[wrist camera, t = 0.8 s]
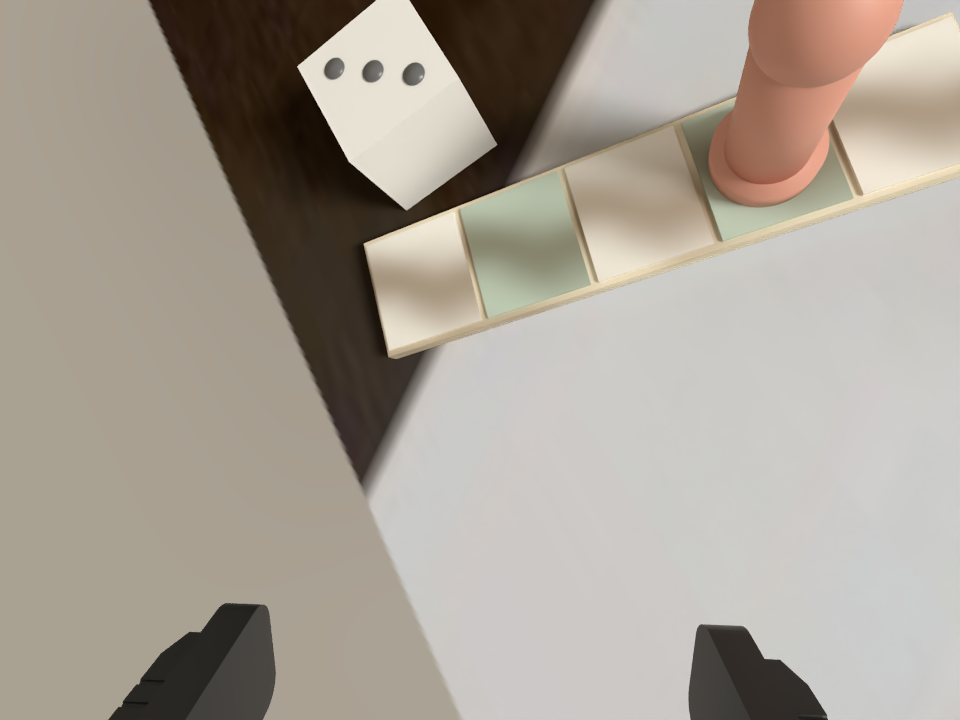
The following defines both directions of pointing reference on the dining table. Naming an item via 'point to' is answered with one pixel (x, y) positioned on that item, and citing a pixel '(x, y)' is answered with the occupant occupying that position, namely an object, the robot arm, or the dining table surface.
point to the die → (396, 102)
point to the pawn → (793, 93)
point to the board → (661, 204)
